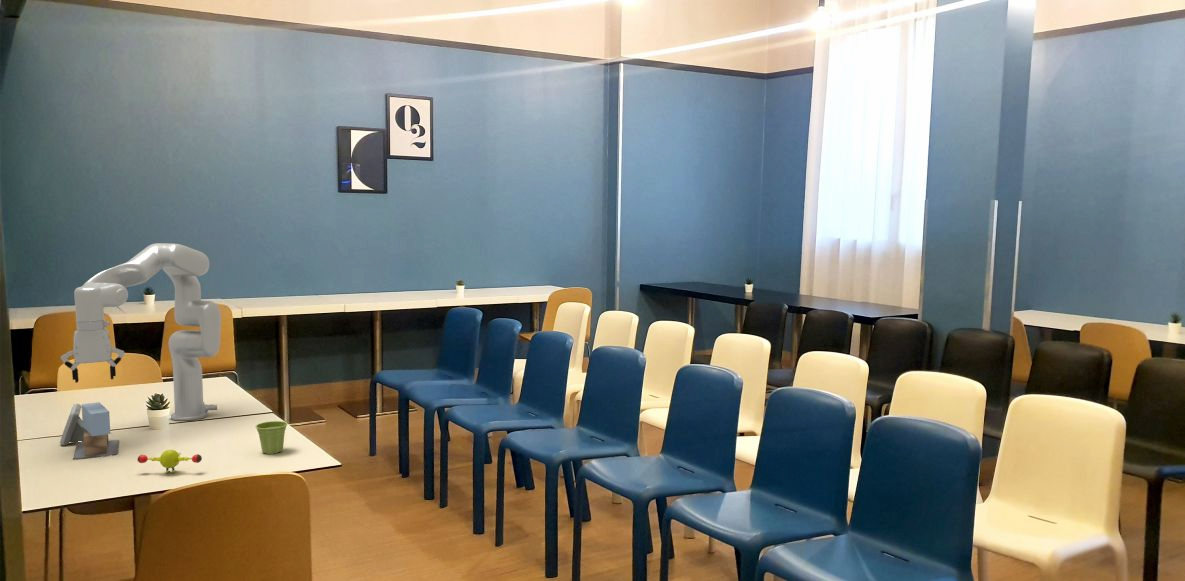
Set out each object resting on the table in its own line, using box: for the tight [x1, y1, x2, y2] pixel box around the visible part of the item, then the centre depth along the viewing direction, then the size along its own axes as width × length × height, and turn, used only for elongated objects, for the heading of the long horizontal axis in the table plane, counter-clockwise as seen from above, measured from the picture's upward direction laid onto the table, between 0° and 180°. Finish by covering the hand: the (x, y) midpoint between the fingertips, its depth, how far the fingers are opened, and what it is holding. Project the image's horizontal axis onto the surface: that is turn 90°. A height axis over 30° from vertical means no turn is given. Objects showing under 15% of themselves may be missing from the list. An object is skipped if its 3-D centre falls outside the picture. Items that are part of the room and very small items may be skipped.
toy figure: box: [137, 449, 203, 474], centre depth 255 cm, size 18×6×7 cm, turn 92°
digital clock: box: [59, 403, 86, 446], centre depth 289 cm, size 16×9×11 cm, turn 15°
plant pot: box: [255, 420, 288, 455], centre depth 277 cm, size 9×9×9 cm
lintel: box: [81, 402, 111, 436], centre depth 277 cm, size 5×16×7 cm, turn 39°
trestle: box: [72, 429, 120, 460], centre depth 278 cm, size 12×18×6 cm, turn 27°
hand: (94, 380), depth 276 cm, fingers open, 9 cm apart
